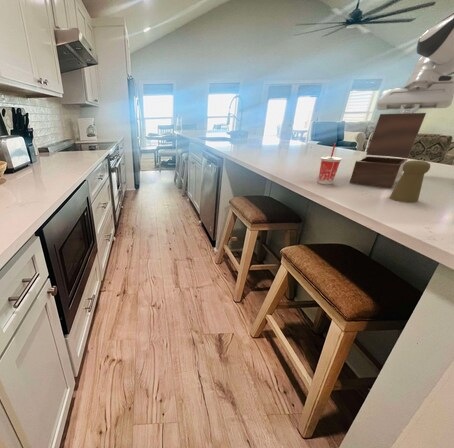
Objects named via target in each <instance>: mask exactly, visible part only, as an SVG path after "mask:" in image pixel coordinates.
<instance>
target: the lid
mask: <svg viewBox="0 0 454 448" xmlns="http://www.w3.org/2000/svg"><path fill="white" fill-rule="evenodd" d="M426 114H427V112H415V113H404V114H401V113H380V114H379V117H378V119H377V122H376V125H375V128H374V131H373V133H372V137H371V140H370V142H369V146H368V148H367V151H366V155H365V156H374V157H389V158H403V159H409V157H410V155H411V152H412V149H413V147H414V145H415V142H416V140H417V137H418V135H419V132H420V130H421V127H422V125H423V122H424V119H425V117H426V116H427V115H426Z"/></svg>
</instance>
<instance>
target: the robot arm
mask: <svg viewBox="0 0 454 448" xmlns="http://www.w3.org/2000/svg"><path fill="white" fill-rule="evenodd" d="M416 54H418V55H419V56H421V57H420V58H419V59H418V61H417V63H416V64H415V66H413V67H414V68H413V69H412V71H411V74H410V77H408V78H407V81H406V82H405V85H404V87H397V88H388V89H387V90H383V91H382V93H381V95H380V97H379V99H378V100H377V102H376V109H377V111H393V110H399V114H404V113H417V112H418V111H419V110H426V109H446V108H449V107H451V106H452V103H453V100H454V12H453V13H451V14H450V15H448V16H446V17H445V18H444V19H441V21H439V22H437V23H435V24H434V25H433V26H431V27H430V28H428V29H427V31H425V32H424V33H423V34H422V35H421V36H420V37H419V38H418V41H417V45H416Z"/></svg>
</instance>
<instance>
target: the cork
mask: <svg viewBox="0 0 454 448" xmlns="http://www.w3.org/2000/svg"><path fill="white" fill-rule="evenodd" d="M430 170H431V163H430V162H428V161H425V160H407V162H406V163H405V164H404V166H403V172H402V175H401V178H400V180H399V181H398V183H397V184H396V185H395V186H394V187H393V188H394V189H393V190H392V192H391V193H390V196H389V199H391V200H393V201H395V202H396V201H397V202H402V203H410V204H411V203H412V204H413V203H418V202H419V199H420V195H421V190H422V186H423V181H424V177H425V174H426V173H428V172H429V171H430Z"/></svg>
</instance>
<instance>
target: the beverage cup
mask: <svg viewBox="0 0 454 448" xmlns="http://www.w3.org/2000/svg"><path fill="white" fill-rule="evenodd" d="M335 148H336V142H334V143H333V147H332V150H331V154H330V156H322V157H320V166H319V172H318V178H317V183H318V184H321V185H332V184H334V180H335V177H336V176H337V175H336V174H337V172H338V169H339V165H340V163H341V162H342V159H343V158H341V157H338V156H334V152H335Z"/></svg>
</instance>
